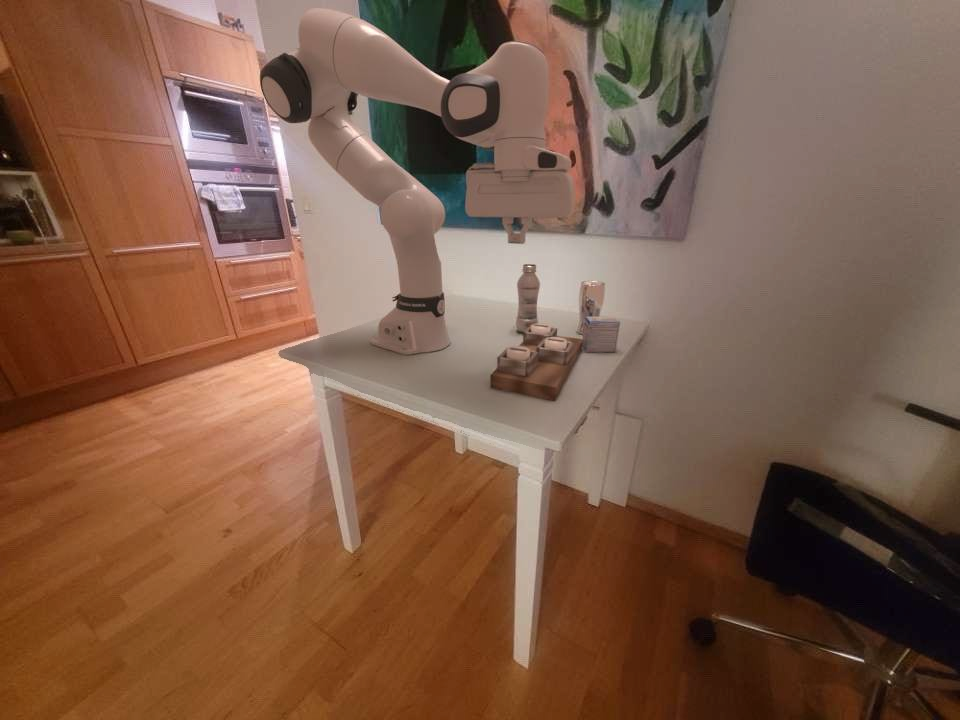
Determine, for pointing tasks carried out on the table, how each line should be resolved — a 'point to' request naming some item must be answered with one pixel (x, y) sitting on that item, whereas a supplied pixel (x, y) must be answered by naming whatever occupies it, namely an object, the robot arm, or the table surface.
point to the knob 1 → (518, 353)
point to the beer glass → (590, 301)
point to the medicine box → (600, 334)
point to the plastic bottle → (527, 298)
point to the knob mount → (537, 367)
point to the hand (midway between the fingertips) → (516, 243)
